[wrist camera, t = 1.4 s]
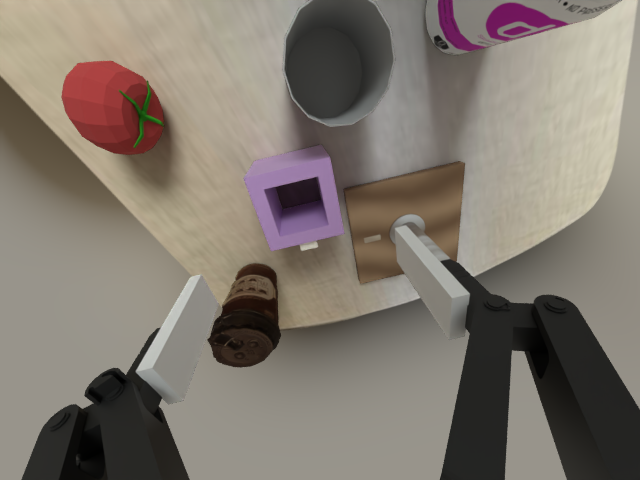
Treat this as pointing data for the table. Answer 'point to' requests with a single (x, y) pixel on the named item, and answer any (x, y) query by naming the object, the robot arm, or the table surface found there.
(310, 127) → the table surface
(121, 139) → the tomato
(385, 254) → the post board
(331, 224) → the purple planter box
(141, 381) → the robot arm
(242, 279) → the coffee cup
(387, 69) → the cup
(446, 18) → the supplement can
